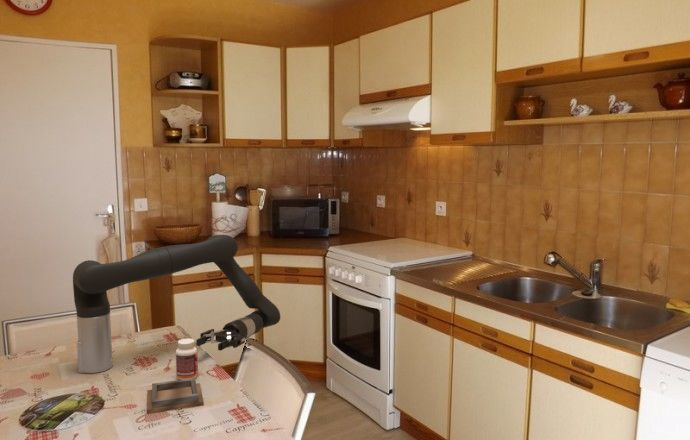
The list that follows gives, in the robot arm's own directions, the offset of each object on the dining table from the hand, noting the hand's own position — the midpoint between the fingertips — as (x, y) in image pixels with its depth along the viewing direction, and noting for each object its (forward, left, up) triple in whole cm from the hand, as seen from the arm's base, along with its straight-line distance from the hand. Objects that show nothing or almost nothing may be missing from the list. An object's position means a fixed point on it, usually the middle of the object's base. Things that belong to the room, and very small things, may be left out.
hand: (208, 345), depth 163 cm
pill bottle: (-7, -7, -7) cm, 12 cm away
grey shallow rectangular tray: (-11, -21, -6) cm, 24 cm away
